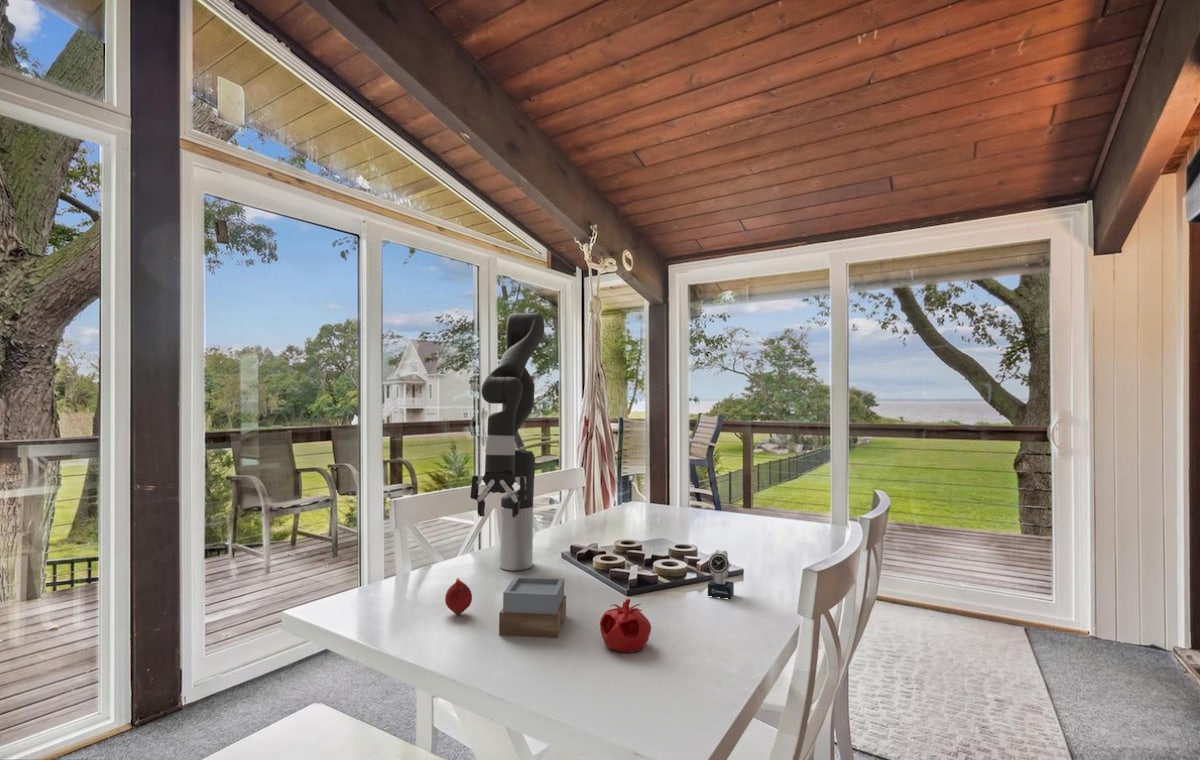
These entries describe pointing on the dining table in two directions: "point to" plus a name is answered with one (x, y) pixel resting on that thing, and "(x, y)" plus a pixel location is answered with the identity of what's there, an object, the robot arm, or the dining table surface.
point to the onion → (458, 597)
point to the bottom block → (532, 623)
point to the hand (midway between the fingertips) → (498, 516)
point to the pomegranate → (625, 628)
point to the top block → (533, 595)
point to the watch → (720, 576)
